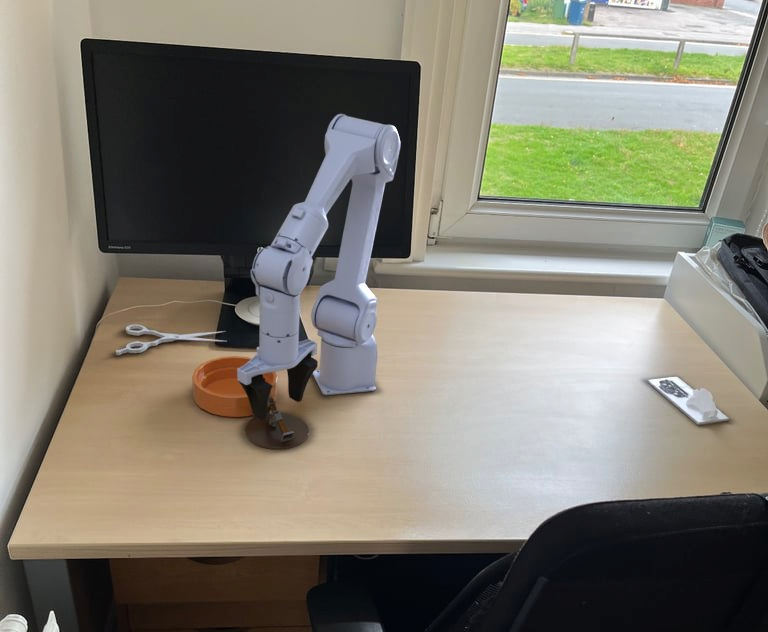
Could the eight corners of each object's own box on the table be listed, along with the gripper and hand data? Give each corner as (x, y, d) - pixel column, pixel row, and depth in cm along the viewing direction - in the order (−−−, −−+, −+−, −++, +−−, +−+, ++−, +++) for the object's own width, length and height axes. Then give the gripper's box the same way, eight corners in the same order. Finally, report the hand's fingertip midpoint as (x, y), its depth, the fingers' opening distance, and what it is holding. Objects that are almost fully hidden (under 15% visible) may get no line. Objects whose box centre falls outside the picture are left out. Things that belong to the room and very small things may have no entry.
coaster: (300, 411, 135) (300, 409, 135) (315, 445, 128) (315, 443, 127) (239, 417, 132) (239, 415, 132) (251, 453, 125) (251, 451, 124)
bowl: (267, 373, 145) (267, 353, 143) (284, 414, 134) (285, 393, 132) (188, 380, 141) (187, 359, 138) (199, 422, 130) (199, 401, 128)
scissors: (117, 324, 153) (226, 321, 158) (117, 328, 154) (226, 325, 158) (115, 352, 145) (231, 347, 149) (116, 356, 145) (231, 351, 150)
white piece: (728, 420, 146) (736, 398, 143) (697, 424, 144) (705, 402, 141) (676, 378, 157) (683, 357, 155) (647, 381, 155) (653, 360, 153)
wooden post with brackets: (267, 407, 133) (273, 391, 130) (288, 447, 130) (294, 431, 126) (257, 410, 132) (263, 393, 129) (278, 450, 129) (284, 434, 126)
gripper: (295, 306, 127) (293, 382, 134) (222, 333, 117) (224, 414, 125) (328, 322, 123) (324, 399, 131) (256, 351, 114) (256, 433, 121)
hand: (277, 407), depth 128 cm, fingers open, 7 cm apart
